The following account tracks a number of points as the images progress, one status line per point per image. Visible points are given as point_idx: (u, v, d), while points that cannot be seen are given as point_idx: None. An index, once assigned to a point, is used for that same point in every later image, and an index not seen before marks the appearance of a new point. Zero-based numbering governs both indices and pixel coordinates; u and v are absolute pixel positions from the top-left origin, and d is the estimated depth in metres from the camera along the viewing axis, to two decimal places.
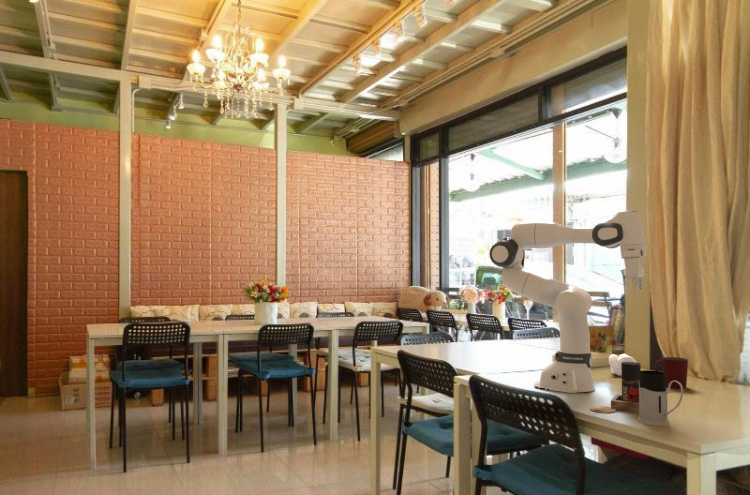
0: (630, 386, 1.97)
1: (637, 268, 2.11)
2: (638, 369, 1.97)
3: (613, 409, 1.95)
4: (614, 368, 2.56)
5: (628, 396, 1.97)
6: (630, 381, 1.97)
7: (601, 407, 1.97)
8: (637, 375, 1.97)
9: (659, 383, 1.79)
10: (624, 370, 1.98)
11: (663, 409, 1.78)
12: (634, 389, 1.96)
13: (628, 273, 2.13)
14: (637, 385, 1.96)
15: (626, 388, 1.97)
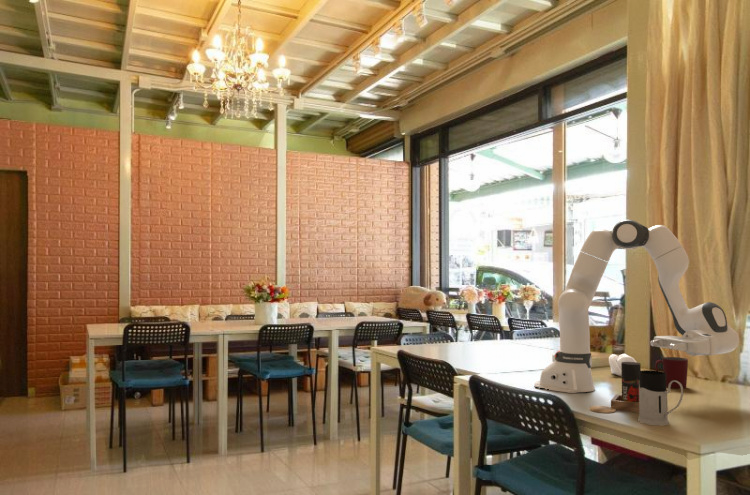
0: (630, 386, 1.97)
1: (703, 352, 1.95)
2: (638, 369, 1.97)
3: (613, 409, 1.95)
4: (614, 368, 2.56)
5: (628, 396, 1.97)
6: (630, 381, 1.97)
7: (601, 407, 1.97)
8: (637, 375, 1.97)
9: (659, 383, 1.79)
10: (624, 370, 1.98)
11: (663, 409, 1.78)
12: (634, 389, 1.96)
13: (699, 343, 1.95)
14: (637, 385, 1.96)
15: (626, 388, 1.97)
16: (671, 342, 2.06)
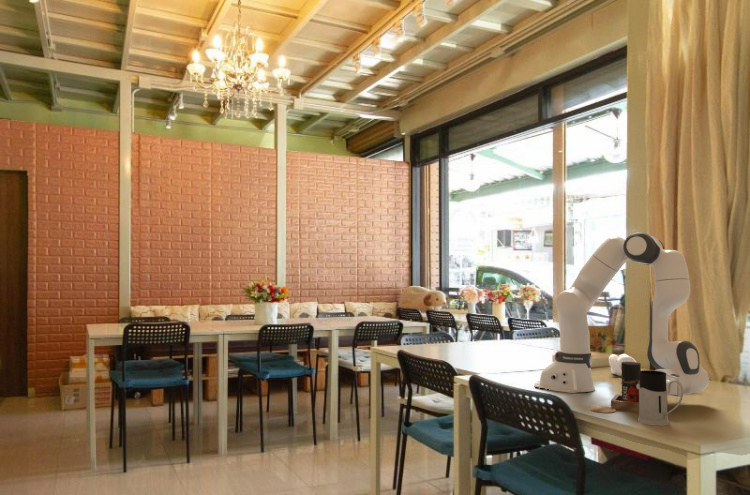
0: (630, 386, 1.97)
1: (670, 394, 1.91)
2: (638, 369, 1.97)
3: (613, 409, 1.95)
4: (614, 368, 2.56)
5: (628, 396, 1.97)
6: (630, 381, 1.97)
7: (601, 407, 1.97)
8: (637, 375, 1.97)
9: (659, 383, 1.79)
10: (624, 370, 1.98)
11: (663, 409, 1.78)
12: (634, 389, 1.96)
13: (666, 384, 1.91)
14: None
15: (626, 388, 1.97)
16: None
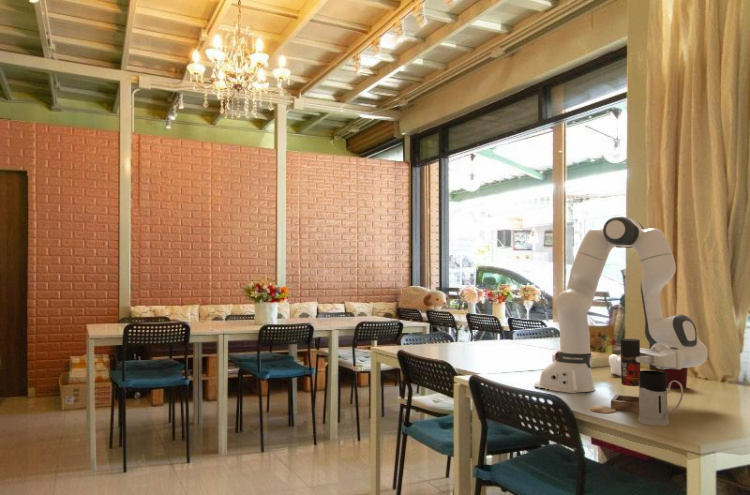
0: (630, 363, 1.97)
1: (669, 366, 1.92)
2: (637, 345, 1.97)
3: (613, 409, 1.95)
4: (614, 368, 2.56)
5: (628, 372, 1.97)
6: (630, 357, 1.97)
7: (601, 407, 1.97)
8: (636, 351, 1.97)
9: (659, 383, 1.79)
10: (623, 347, 1.99)
11: (663, 409, 1.78)
12: (633, 365, 1.97)
13: (665, 356, 1.91)
14: None
15: (625, 364, 1.98)
16: None
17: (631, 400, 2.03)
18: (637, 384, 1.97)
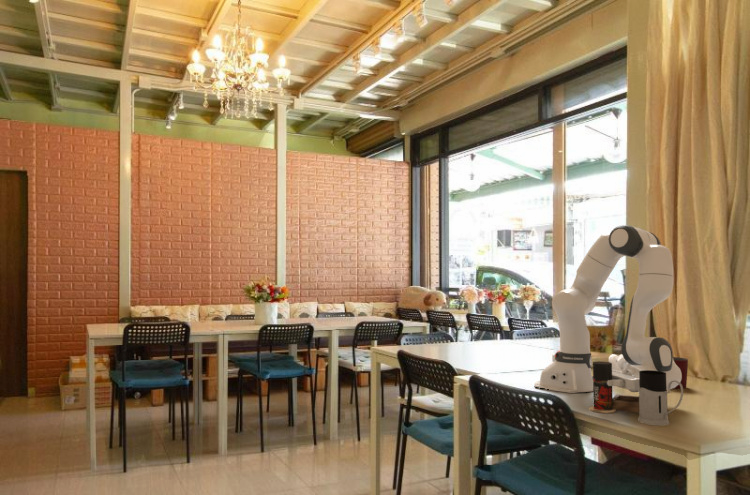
0: (601, 386, 1.94)
1: None
2: (609, 369, 1.94)
3: (613, 409, 1.95)
4: (614, 368, 2.56)
5: (599, 396, 1.94)
6: (601, 381, 1.94)
7: None
8: (608, 375, 1.94)
9: (659, 383, 1.79)
10: (595, 370, 1.95)
11: (663, 409, 1.78)
12: (605, 389, 1.93)
13: (637, 381, 1.88)
14: None
15: (597, 388, 1.95)
16: None
17: (631, 400, 2.03)
18: (609, 408, 1.93)
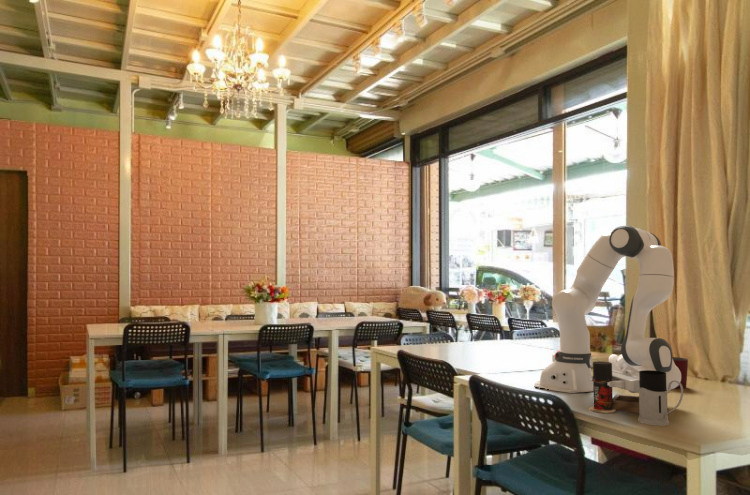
0: (602, 386, 1.94)
1: None
2: (609, 369, 1.94)
3: (613, 409, 1.95)
4: (614, 368, 2.56)
5: (600, 396, 1.94)
6: (601, 381, 1.94)
7: None
8: (608, 375, 1.94)
9: (659, 383, 1.79)
10: (595, 370, 1.95)
11: (663, 409, 1.78)
12: (605, 389, 1.93)
13: (636, 381, 1.88)
14: None
15: (597, 388, 1.95)
16: None
17: (631, 400, 2.03)
18: (609, 408, 1.93)
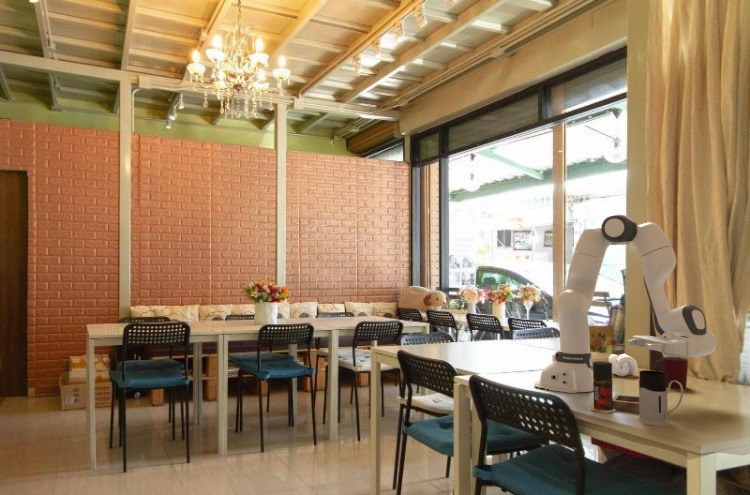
0: (602, 386, 1.94)
1: (679, 354, 1.94)
2: (609, 369, 1.94)
3: (613, 409, 1.95)
4: (614, 368, 2.56)
5: (600, 396, 1.94)
6: (601, 381, 1.94)
7: None
8: (608, 375, 1.94)
9: (659, 383, 1.79)
10: (595, 370, 1.95)
11: (663, 409, 1.78)
12: (605, 389, 1.93)
13: (676, 344, 1.94)
14: (608, 385, 1.94)
15: (597, 388, 1.95)
16: (649, 342, 2.04)
17: (631, 400, 2.03)
18: (609, 408, 1.93)
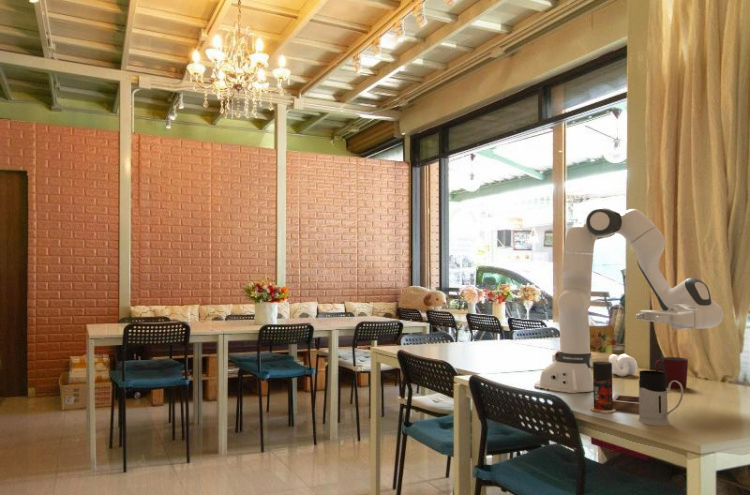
0: (602, 386, 1.94)
1: (687, 324, 1.96)
2: (609, 369, 1.94)
3: (613, 409, 1.95)
4: (614, 368, 2.56)
5: (600, 396, 1.94)
6: (601, 381, 1.94)
7: None
8: (608, 375, 1.94)
9: (659, 383, 1.79)
10: (595, 370, 1.95)
11: (663, 409, 1.78)
12: (605, 389, 1.93)
13: (684, 315, 1.95)
14: (608, 385, 1.94)
15: (597, 388, 1.95)
16: (656, 315, 2.06)
17: (631, 400, 2.03)
18: (609, 408, 1.93)
